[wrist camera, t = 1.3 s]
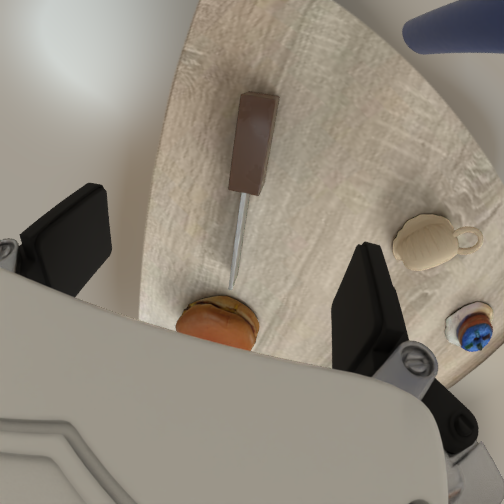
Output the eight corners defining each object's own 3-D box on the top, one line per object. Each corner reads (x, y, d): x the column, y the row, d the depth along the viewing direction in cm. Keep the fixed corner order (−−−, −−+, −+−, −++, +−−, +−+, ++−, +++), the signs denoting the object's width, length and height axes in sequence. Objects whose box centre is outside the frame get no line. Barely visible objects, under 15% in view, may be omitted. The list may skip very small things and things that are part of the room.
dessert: (500, 326, 30) (490, 364, 27) (463, 326, 36) (451, 361, 33) (488, 290, 28) (478, 331, 26) (447, 292, 34) (433, 330, 32)
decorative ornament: (384, 227, 27) (396, 260, 23) (459, 199, 24) (483, 227, 19) (395, 259, 29) (405, 294, 24) (465, 233, 25) (485, 264, 21)
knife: (248, 91, 22) (240, 93, 20) (279, 96, 22) (275, 99, 20) (224, 271, 33) (217, 288, 31) (247, 276, 33) (241, 294, 31)
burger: (265, 303, 35) (258, 333, 31) (252, 349, 40) (245, 377, 37) (184, 281, 36) (170, 309, 32) (183, 330, 41) (172, 355, 37)
